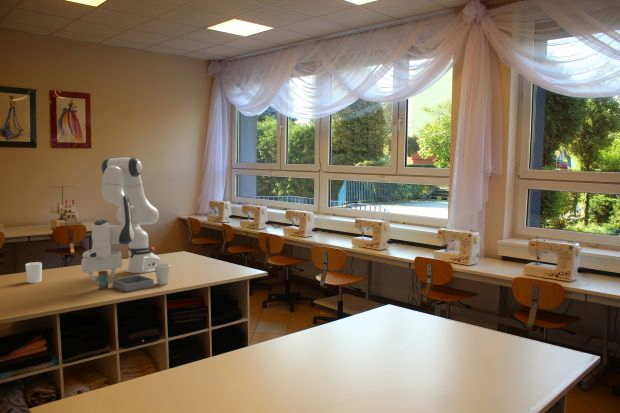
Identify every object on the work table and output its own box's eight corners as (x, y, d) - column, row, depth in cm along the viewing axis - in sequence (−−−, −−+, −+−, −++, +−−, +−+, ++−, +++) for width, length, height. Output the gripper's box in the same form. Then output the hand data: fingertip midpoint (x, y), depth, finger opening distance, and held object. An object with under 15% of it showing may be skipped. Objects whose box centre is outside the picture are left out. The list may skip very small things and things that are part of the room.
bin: (139, 282, 272) (138, 274, 271) (153, 286, 262) (153, 279, 261) (112, 287, 261) (112, 279, 260) (126, 292, 251) (126, 284, 250)
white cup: (46, 280, 275) (45, 262, 274) (33, 283, 267) (33, 265, 266) (35, 279, 277) (34, 261, 276) (22, 282, 270) (21, 264, 269)
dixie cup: (173, 283, 269) (173, 265, 268) (158, 285, 264) (158, 267, 263) (166, 280, 275) (166, 262, 274) (152, 283, 270) (151, 264, 269)
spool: (105, 287, 261) (105, 270, 260) (109, 288, 258) (109, 271, 257) (97, 288, 258) (96, 271, 257) (101, 290, 255) (100, 272, 254)
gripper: (118, 249, 266) (119, 274, 267) (79, 253, 251) (80, 280, 252) (124, 250, 261) (124, 276, 262) (84, 255, 246) (85, 282, 247)
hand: (102, 278), depth 257 cm, fingers open, 8 cm apart
